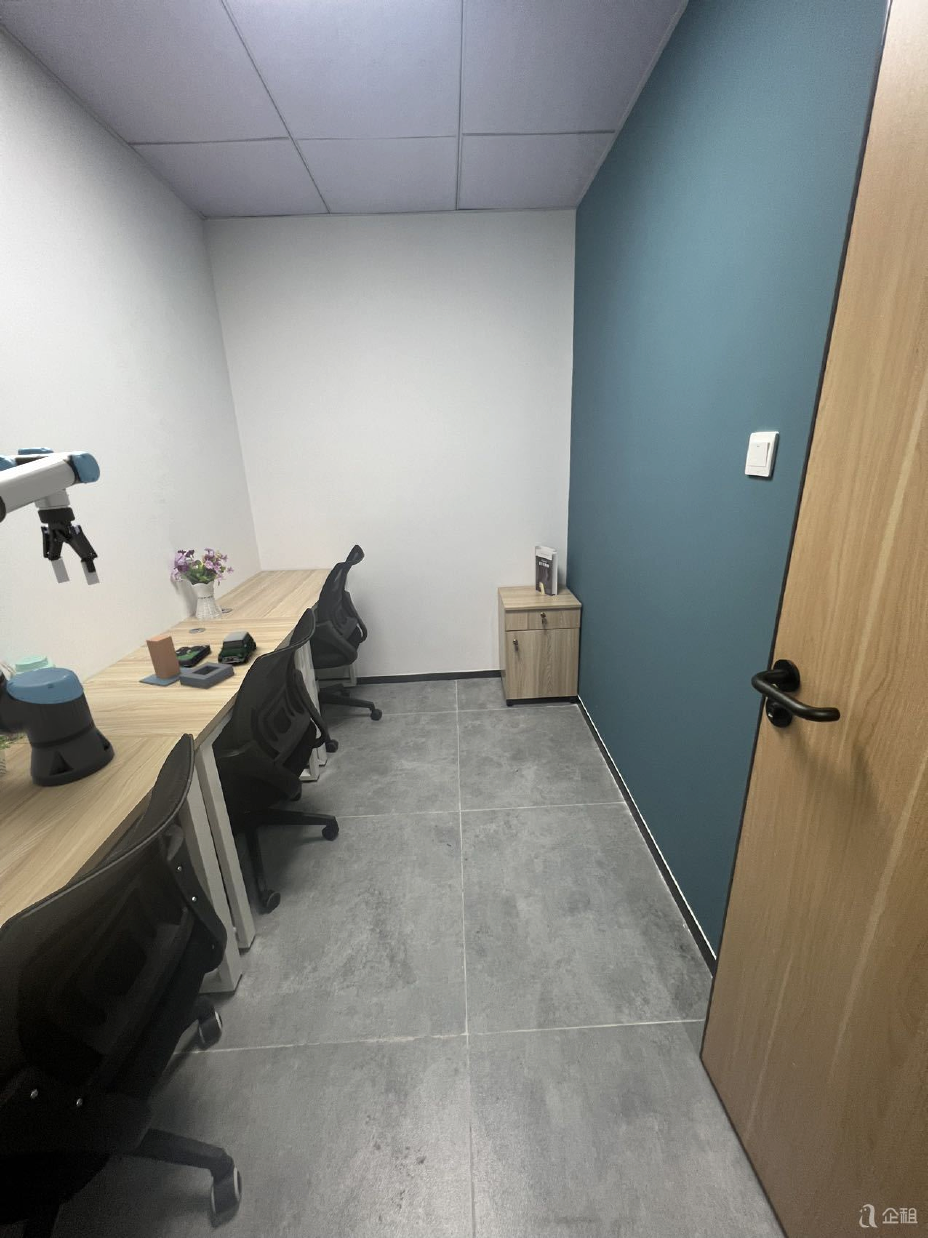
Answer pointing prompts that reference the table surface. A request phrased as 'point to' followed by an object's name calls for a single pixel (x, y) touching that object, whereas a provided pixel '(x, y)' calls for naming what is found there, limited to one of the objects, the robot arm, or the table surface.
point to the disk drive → (191, 654)
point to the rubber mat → (162, 681)
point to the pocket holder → (206, 674)
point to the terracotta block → (163, 656)
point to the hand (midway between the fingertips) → (78, 583)
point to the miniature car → (236, 647)
